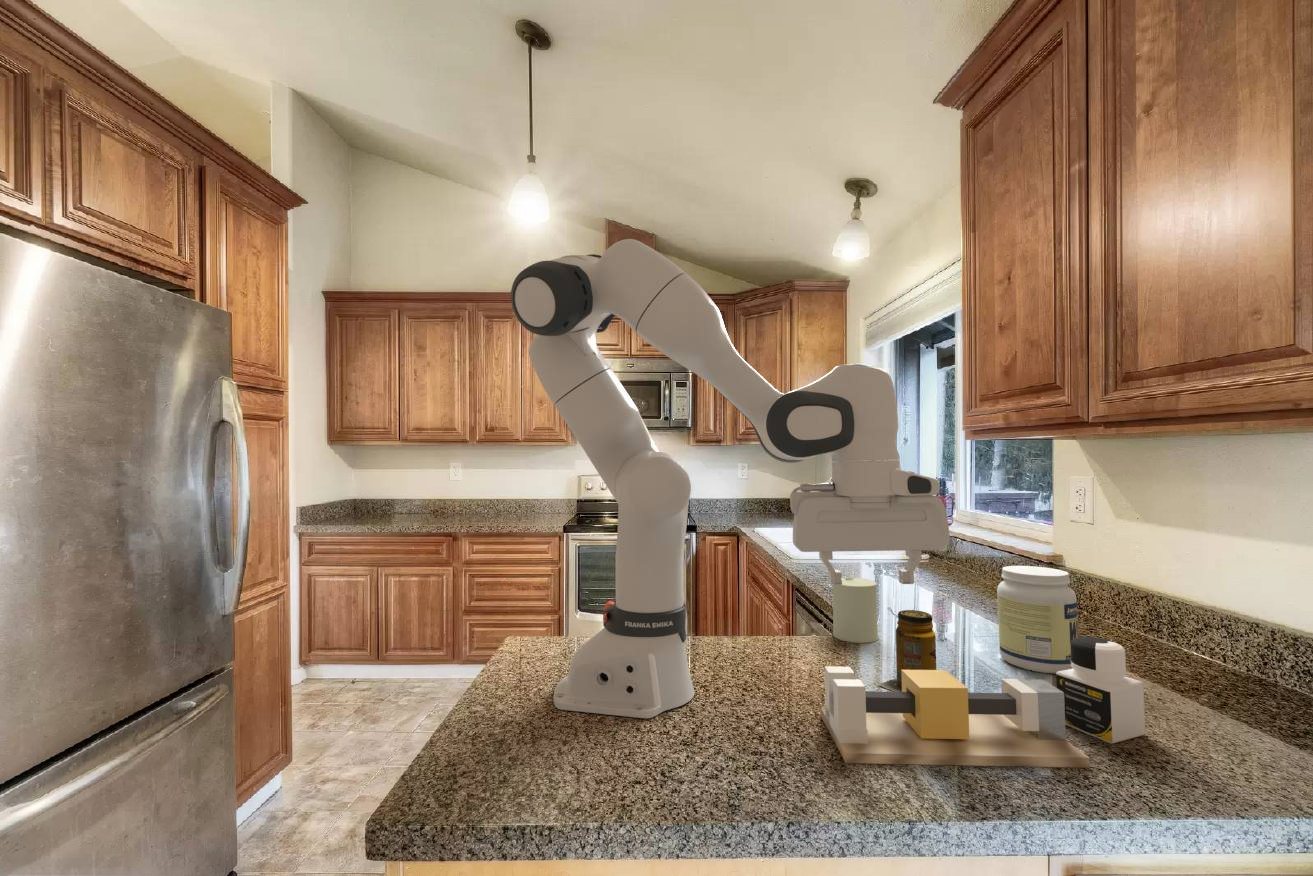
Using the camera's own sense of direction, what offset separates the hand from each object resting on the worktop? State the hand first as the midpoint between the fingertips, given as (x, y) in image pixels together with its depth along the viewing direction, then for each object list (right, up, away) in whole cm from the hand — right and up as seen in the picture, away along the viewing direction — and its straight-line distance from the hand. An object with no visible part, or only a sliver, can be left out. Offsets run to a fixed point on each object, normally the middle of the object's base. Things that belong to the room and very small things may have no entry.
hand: (870, 583), depth 78 cm
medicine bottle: (+32, -21, +1) cm, 38 cm away
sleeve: (+8, -19, -2) cm, 20 cm away
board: (+9, -20, -2) cm, 22 cm away
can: (+13, -23, +44) cm, 51 cm away
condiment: (+13, -21, +16) cm, 30 cm away
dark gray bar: (+8, -17, -2) cm, 18 cm away
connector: (+22, -19, -2) cm, 29 cm away
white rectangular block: (+19, -18, -2) cm, 26 cm away
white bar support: (-4, -19, -1) cm, 20 cm away
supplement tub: (+41, -22, +26) cm, 53 cm away
